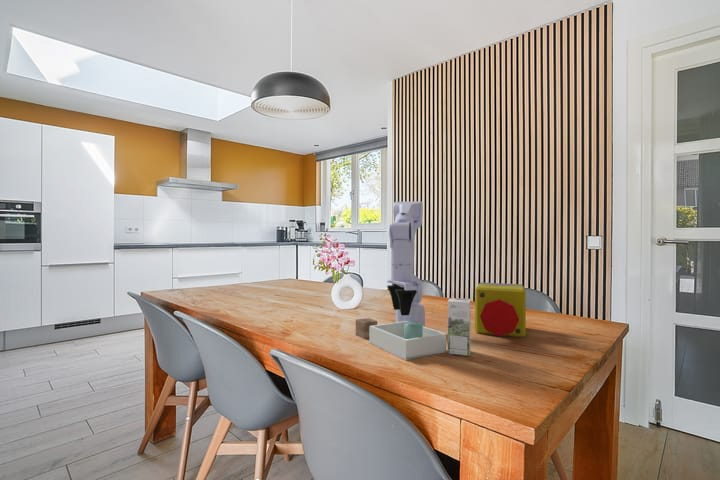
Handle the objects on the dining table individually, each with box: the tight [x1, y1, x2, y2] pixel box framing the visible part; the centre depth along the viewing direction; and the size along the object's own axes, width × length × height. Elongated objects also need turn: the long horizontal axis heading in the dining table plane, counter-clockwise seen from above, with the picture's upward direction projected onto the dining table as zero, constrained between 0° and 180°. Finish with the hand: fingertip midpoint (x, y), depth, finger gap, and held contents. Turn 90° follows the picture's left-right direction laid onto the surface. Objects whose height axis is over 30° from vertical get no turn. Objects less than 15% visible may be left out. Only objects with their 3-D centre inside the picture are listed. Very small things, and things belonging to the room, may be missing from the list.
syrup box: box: [447, 297, 472, 357], centre depth 99 cm, size 6×6×14 cm
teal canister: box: [404, 322, 423, 339], centre depth 100 cm, size 5×5×7 cm
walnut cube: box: [355, 317, 378, 340], centre depth 116 cm, size 5×5×5 cm
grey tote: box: [368, 321, 447, 361], centre depth 104 cm, size 14×18×5 cm
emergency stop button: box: [474, 282, 527, 338], centre depth 119 cm, size 15×24×15 cm, turn 158°
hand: (401, 312), depth 104 cm, fingers open, 7 cm apart
